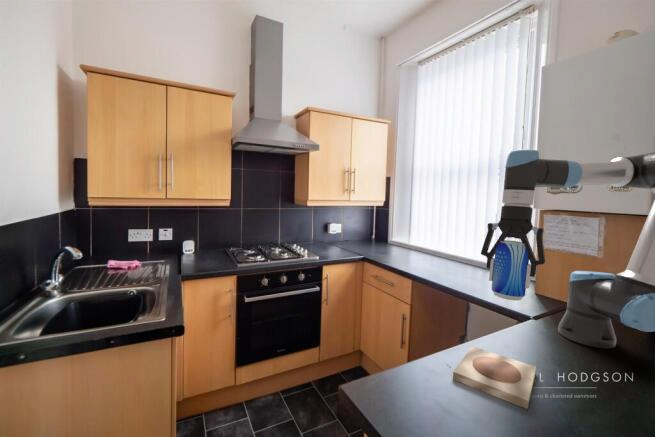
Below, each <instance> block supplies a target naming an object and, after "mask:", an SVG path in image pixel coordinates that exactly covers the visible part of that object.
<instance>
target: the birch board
mask: <svg viewBox="0 0 655 437" xmlns="http://www.w3.org/2000/svg"><path fill="white" fill-rule="evenodd" d="M536 374H537V366H535V365H532V364H529V363H525V362H522V361H519V360H516V359H513V358H510V357H507V356H504V355H502V354H501V355H500V354H498V353H494V352H493V351H492V352H491V351H489V350H485V349H483V348H480V347H477V346H476V347H475V346H472V345H471V347H470V348H469V350H468V351H467V353H465V355H464V357H463V358H462V359H461V360H460V362H458V364H457V366H456V367H455V368H454V370H453V372H452V380H453V381H455V382H456V381H457V382H459V383H462V384H464V385H466V386H469V387H471V388H474V389H476V390H479V391H481V392H483V393H486V394H489V395H491V396H494V397H496V398H499V399H500V400H504V401H506V402H509V403H511V404H513V405H515V406H518V407H522V408H524V409H528V408H529V405H530V400H531V396H532V392H533V387H534V383H535V378H536ZM528 410H529V409H528Z"/></svg>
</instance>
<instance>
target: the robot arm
mask: <svg viewBox="0 0 655 437" xmlns="http://www.w3.org/2000/svg"><path fill="white" fill-rule="evenodd" d="M539 155H540V153H539V151H538V150H536V149H527V148H525V149H514V150H511V151H509V152H508V154H507V156H506V161H505V166H504V167H505V170H504V181H503V182H504V183H503V191H502V193H503V194H502V200H501V203H502V204H504V205H502V206H501V210H500V220H499V221H498V222H497V223H496V222H495V223H493V222H490V223H487V232H486V236H485V239H484V242H483V245H482V248H481V251H480V254H481V256H484V257H486V269H489V278H488V281H490V282H492V279H493V270H494V260H495V251H496V247H497V246H498V245H499V244H500V243H501V242H500V241H504V240H507V239H508V238H510V239H511V238H514V239H517V240H520V242H522V243H523V244H525V245H524V246H525V248H526V249H527V251H528V258H529V262H530V263H529V264H528V265H527V274H526V283H525V288H526V289H530V287H531V277H532V278H534V277H535V276H536V275H537V274H536V273H537V267H538V266H539V265H545V263H546V257H545V256H546V254H545V248H544V246H545V245H544V239H543V235H544V232H545V228H544V227H537V226H534V225H533V223H532V219H533V218H532V217H533V210H534V209H533V208H532V205H534V200H535V191H536V188H549V187H550V188H561V189H562V188H572V187H574V186H575V187H576V186H597V185H598V186H601V185H609V186H612V187H614V188H635V189H637V188H638V189H647V190H648V189H649V190H651V192H652V193H653V194H654V195H655V151H654V152H649V153H643V154H642V153H641V154H639V155H632V156H627V157H623V156H621V157H616V158H613V159H612V160H606V161H605V160H604V161H603V160H602V161H583V162H582V161H580V162H578V161H573V160H568V159H565V160H564V159H545V158H540V156H539ZM497 229H499V230H500V231H501V234H500V236H499V237H498V239H497V241H495V243H494V245H493V246H492V248H491V249H490V246H491V242H492V240H493V236H494V233H495V231H496V230H497ZM531 231H532V232H533V234H534V235H535V240H536V247H537V248H536V249H537V255H538V259H536V256H535V254H534V251H533V248H532V246H531V244H530V242H529V238H528V236H527V235H528V234H529V233H530V232H531ZM489 249H490V251H489ZM569 277H570V278H569V281H568V287H567V288H568V290H567V291H568V292H567V302H566V311H565V313H564V314H563V316H562V318H561V320H560V321H559V324H558V325H557V326H558V327H557V332H558V333H559V334H560V335H561V336H562V337H564V338H566V339H568V340H570V341H573V342H575V343H578V344H581V345H584V346H587V347H588V346H589V347H594V348H598V349H613V348H616V346H617V336H616V334H615V330H614V327H613V326H614V325H613V323H612V320H614V321H617V322H618V323H621V324H623V325H624V326H627V327H630V328H632V329H637V330H639V331H641V332H647V333H649V332H651V333H652V332H655V199H654V200H653V203H652V205H651V207H650V211H649V213H648V215H647V217H646V220H645V222H644V225H643V227H642V229H641V232H640V234H639V237H638V239H637V242H636V245H635V247H634V249H633V251H632V254H631V257H630V259H629V260H628V264H627V266H626V268H625V270H624V271H621V272H618V273H616V274H614V273H611V272H610V273H609V272H602V271H590V270H589V271H587V270H574V271H572V272H571V273H570V276H569Z"/></svg>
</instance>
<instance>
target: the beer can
mask: <svg viewBox="0 0 655 437" xmlns="http://www.w3.org/2000/svg"><path fill="white" fill-rule="evenodd" d="M500 242H501V243H500V244H499V245H498V246H497V247H496V251H495V255H494V258H495V260H494V270H493V279H492V281H491V291H492V292H493V295H494V296H495V297H498V298H500V299H503V300H508V301H520V300H522V299H523V298H524V297H525V296H526V291H527V290H526V289H527V288H525V283H526V274H527V265H528V264H530V263H529V262H530V260H529V258H528V251H527V249H526V248H525V246H524V245H525V244H523V243H522V241H518V240H517V241H515V240H507V239H505V240H504V241H500Z"/></svg>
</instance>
